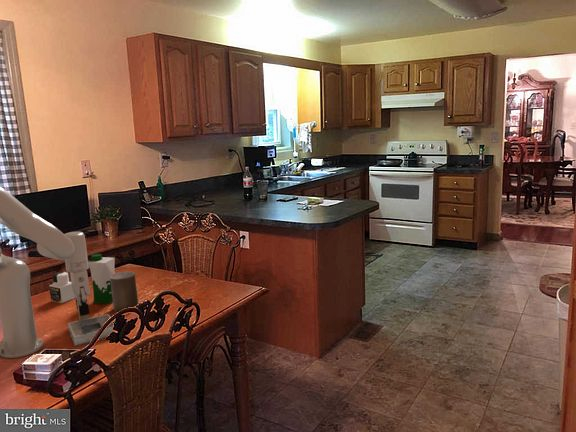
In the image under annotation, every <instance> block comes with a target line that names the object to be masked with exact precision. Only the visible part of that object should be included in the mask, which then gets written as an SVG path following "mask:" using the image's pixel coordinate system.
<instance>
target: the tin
mask: <svg viewBox="0 0 576 432" xmlns="http://www.w3.org/2000/svg"><path fill="white" fill-rule="evenodd" d="M110 317H111V315H110V314H109V313H107V314H101V315H96V316H92V317H89V318H88V319H84V320H75V321H71V322H68V323H67V328H68V334H69V336H70V338H71V340H72V343H73V345H74V347H75V348H76V347H81V346H84V345H88V344H90V343H89V342H90V341H91V339H92V338H93V337H94V335H95V334H96V333H97V331H98V330H99V329H100V328H101V327H102V326H103V324H104V323H105V322H106V321H107V320H108V319H109V318H110ZM114 323H115V322H114ZM114 323H113V322H112V323H111V324H110V325H109V326H108V327H107V328H106V329H105V331H104V332H103V333H102V335H101V336H100V338H99V340H100V341H103V340H102V339H104V340H106V339H105V338H106V337H107V336H108V335H109V334H110V333H112V332H115V331H113V324H114Z"/></svg>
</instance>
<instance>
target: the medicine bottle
mask: <svg viewBox="0 0 576 432" xmlns="http://www.w3.org/2000/svg"><path fill="white" fill-rule="evenodd" d="M48 287H49V294H50V301H51V302H54V303H58V304H64V303H66V302H68V301H72V300H74V299H76V296H75V294H74V292H73V288H72V282H71V281H70V278H69V272H67V271H58V272H55V273H53V274H52V284H49V286H48Z"/></svg>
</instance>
